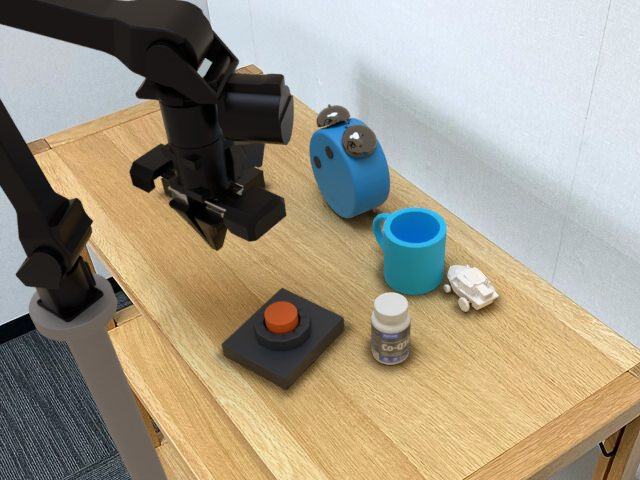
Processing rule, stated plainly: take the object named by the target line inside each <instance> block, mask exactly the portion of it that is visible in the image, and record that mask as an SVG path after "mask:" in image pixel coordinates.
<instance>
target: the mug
mask: <svg viewBox="0 0 640 480" xmlns="http://www.w3.org/2000/svg"><path fill="white" fill-rule="evenodd" d="M383 220H384V222H383V227H382V226H381V225H382V221H383ZM371 226H372V232H373V235H374V238H375V241H376V242H377V244H378V245H379V247H380V249H381V250H382V251H383V278H384V281H385V283H386V284H387V286H389V287H390V288H391V289H392V290H394V291H396V292H397V293H399V294H405V295H412V296H416V295H417V296H418V295H423V294H428V293H430V292H432V291H434V290H435V289H437V288H438V287H439V286H440V285H441V284H442V282H443V279H444V272H445V258H446V246H447V245H446V244H447V233H448V232H447V231H448V229H447V228H448V225H447V222H446V220H445V219H444V217H443V216H441V215H440V214H439V213H438V212H437V211H433V210H432V209H429V208H425V207H421V206H420V207H419V206H418V207H417V206H416V207H414V206H411V207H405V208H401V209H398V210H396V211H394V212H392V213H390V212H383V213H378V214H377V215H375V217H374V218H373V221H372V225H371ZM382 229H383V231H382Z"/></svg>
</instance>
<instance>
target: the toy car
mask: <svg viewBox="0 0 640 480" xmlns="http://www.w3.org/2000/svg"><path fill="white" fill-rule="evenodd" d="M446 276H447V279H448V281H449V283H450V285H449V284H448V283H445V284H444V285H443V290H444V292H445V293H446V294H448V293H450V292H451V289H452V291H453V292H454V293H455V294H456V295H457V296H458V297H459V299H458V300H457V302H458V306H459V309H461V311H463V312H466V313H467V312H469V311H470V303H471V307H472V308H474V309H475V310H476V311H479V310H480V309H483V308H484V307H486V306H488V305H491V304H492V303H493V302H494V300H496V299H497V298H498V297H499V296H500V295H499V294H498V293H497V292H496V291H497V290H496V289H495V287H494V286H493V285H492V281H491V280H489V278H488V277H487V276H486V275H485V274H484V273H483V272H482V270H480V269H479V268H477V267H476V266H475V267H470V266H469V264H466V265H464V264H463V265H462V264H452V265H450V266H449V269H448V271H447V275H446Z"/></svg>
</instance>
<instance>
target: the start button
mask: <svg viewBox="0 0 640 480" xmlns="http://www.w3.org/2000/svg"><path fill="white" fill-rule="evenodd" d="M264 316H265V322H266V327H267V329H268V330H269V331H270V332H272V333H275V334H286V333H289V332H292V331H293V330H294V329H295V328H296V327H297V325H298V314H297V309H296V307H295V306H294V305H293V304H291V303H289V302H283V301H282V302H276V303H273V304H271V305H270V306H268V307H267V309H266V310H265V313H264Z"/></svg>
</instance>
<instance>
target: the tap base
mask: <svg viewBox="0 0 640 480" xmlns="http://www.w3.org/2000/svg"><path fill="white" fill-rule="evenodd" d="M242 173H243V177H242V178H241V179H239V180H238V181H237V182H235V181H233V183H235V184H238V185H240V186H242V187H243V191H242V194H243V193H244V192H246V191H247V190H248V189H249V188H251V187H252V186H253V185H256V186H258V187H261V188H263V189H265V188H266V181H265V174H264V170H262V169H260V168H258V167H252V168H249V169H245V170H242ZM160 180H161V184H162V188H163V191H164V196H167V197H170V198H172V199H173V196H172V192H171V191H169V190H168V187H169V186H170V184H169V180H167V179H165V178H163V177H160Z"/></svg>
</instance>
